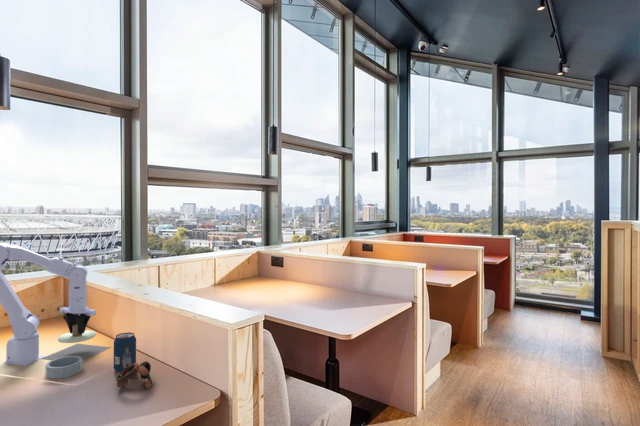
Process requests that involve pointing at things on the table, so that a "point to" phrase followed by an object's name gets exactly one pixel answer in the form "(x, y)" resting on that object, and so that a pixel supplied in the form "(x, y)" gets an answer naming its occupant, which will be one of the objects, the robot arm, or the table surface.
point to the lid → (76, 335)
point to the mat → (78, 351)
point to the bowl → (63, 367)
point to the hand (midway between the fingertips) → (77, 333)
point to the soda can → (124, 351)
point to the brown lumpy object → (135, 374)
